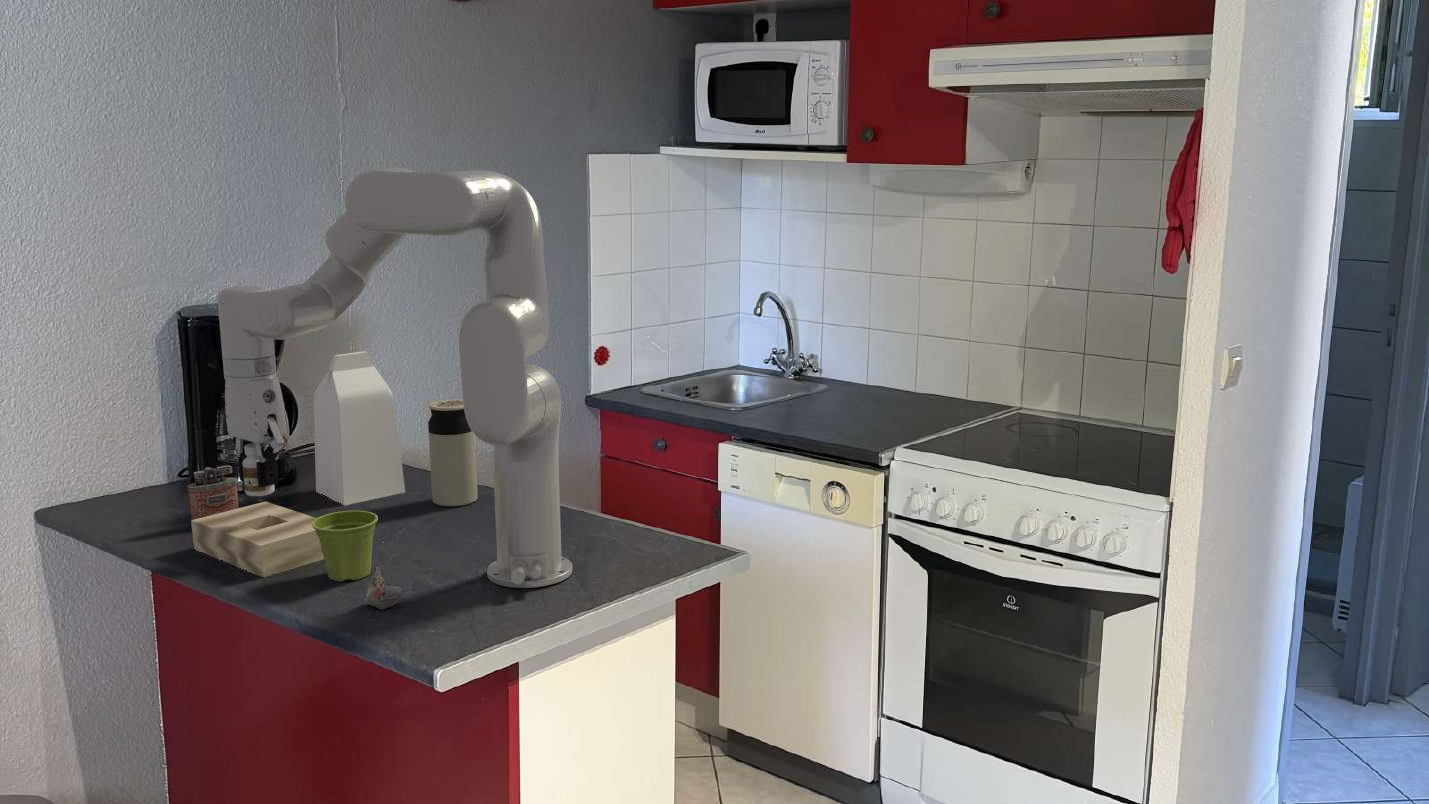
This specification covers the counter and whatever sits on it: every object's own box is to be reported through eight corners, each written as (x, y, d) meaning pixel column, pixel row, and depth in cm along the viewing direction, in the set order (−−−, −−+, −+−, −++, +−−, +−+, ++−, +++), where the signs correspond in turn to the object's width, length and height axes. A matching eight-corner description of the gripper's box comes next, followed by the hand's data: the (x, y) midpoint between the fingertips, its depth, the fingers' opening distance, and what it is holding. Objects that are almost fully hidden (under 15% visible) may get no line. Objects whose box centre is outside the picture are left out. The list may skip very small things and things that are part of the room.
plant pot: (349, 590, 178) (344, 533, 176) (302, 579, 183) (298, 523, 181) (394, 570, 186) (391, 515, 184) (349, 560, 191) (345, 507, 189)
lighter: (195, 531, 205) (189, 474, 203) (188, 527, 208) (183, 469, 206) (244, 522, 210) (238, 465, 208) (237, 517, 213) (232, 461, 211)
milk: (344, 505, 220) (334, 362, 214) (316, 492, 228) (305, 353, 222) (405, 492, 227) (396, 353, 222) (375, 480, 236) (366, 346, 230)
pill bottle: (239, 495, 191) (235, 447, 189) (256, 487, 195) (252, 440, 194) (264, 497, 190) (260, 449, 188) (280, 489, 194) (276, 442, 192)
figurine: (408, 598, 175) (399, 558, 173) (399, 610, 170) (390, 570, 169) (372, 603, 175) (363, 564, 174) (363, 616, 171) (352, 576, 169)
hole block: (338, 554, 193) (336, 524, 192) (263, 577, 184) (260, 545, 182) (268, 530, 206) (265, 501, 205) (194, 550, 196) (191, 520, 195)
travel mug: (486, 498, 223) (482, 401, 219) (456, 510, 216) (451, 410, 213) (453, 492, 227) (448, 397, 223) (423, 503, 220) (417, 405, 216)
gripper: (303, 370, 186) (311, 486, 190) (242, 357, 196) (251, 468, 200) (257, 377, 180) (267, 497, 184) (197, 364, 191) (208, 478, 195)
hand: (259, 481), depth 192 cm, fingers closed on pill bottle, 4 cm apart
